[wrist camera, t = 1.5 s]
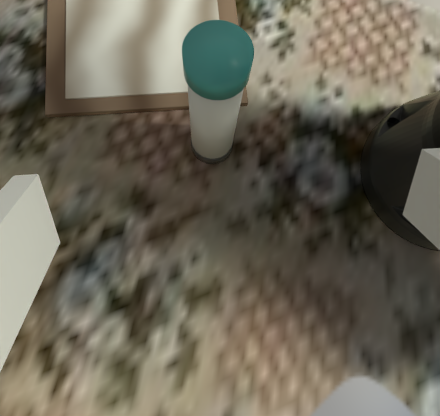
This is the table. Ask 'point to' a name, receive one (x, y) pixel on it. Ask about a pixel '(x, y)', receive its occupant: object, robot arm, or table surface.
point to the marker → (215, 85)
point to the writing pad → (122, 54)
